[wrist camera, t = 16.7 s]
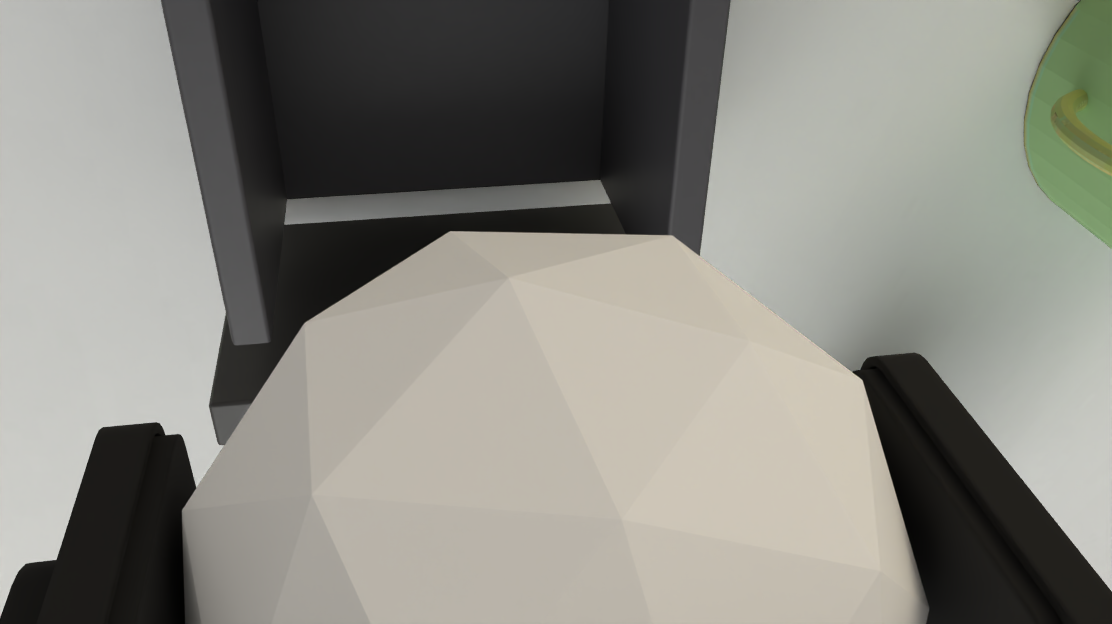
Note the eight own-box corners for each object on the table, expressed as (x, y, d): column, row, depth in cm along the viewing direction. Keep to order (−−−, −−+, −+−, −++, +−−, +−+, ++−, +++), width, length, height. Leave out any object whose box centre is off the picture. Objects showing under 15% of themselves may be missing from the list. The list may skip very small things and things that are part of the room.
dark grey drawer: (626, 361, 32) (694, 537, 26) (271, 394, 30) (251, 591, 24) (689, -457, 20) (845, -501, 14) (108, -482, 18) (-19, -546, 12)
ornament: (313, 620, 15) (-192, 1047, 7) (462, 154, 14) (66, 44, 6) (756, 820, 14) (745, 1606, 6) (956, 325, 13) (1270, 467, 5)
